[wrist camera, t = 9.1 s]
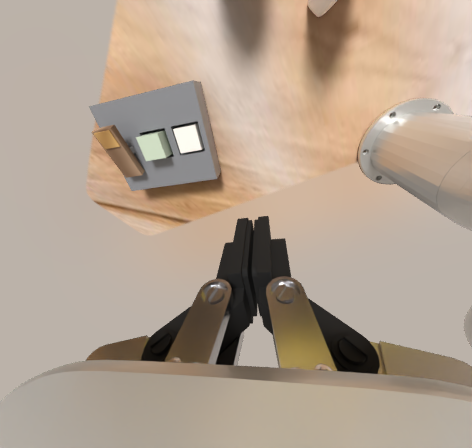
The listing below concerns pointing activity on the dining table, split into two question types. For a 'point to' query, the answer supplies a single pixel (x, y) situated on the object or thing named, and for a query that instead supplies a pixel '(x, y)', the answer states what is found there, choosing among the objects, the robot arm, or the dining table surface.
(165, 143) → the sage button
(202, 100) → the console
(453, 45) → the dining table surface
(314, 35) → the dining table surface
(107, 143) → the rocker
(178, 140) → the white button
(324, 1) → the eye dropper bottle
